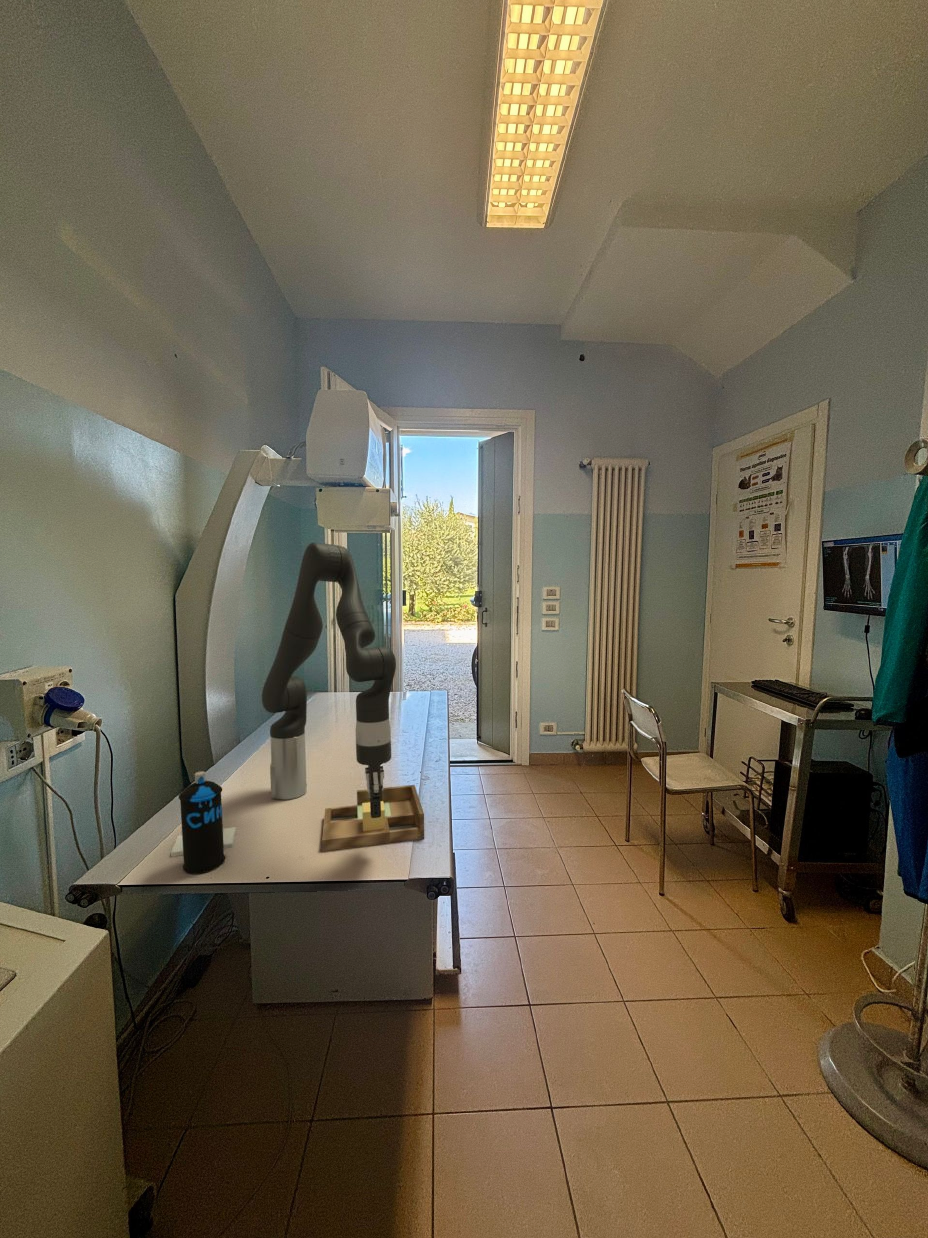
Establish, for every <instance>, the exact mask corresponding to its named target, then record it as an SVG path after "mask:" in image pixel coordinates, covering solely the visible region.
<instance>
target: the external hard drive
mask: <svg viewBox="0 0 928 1238" xmlns="http://www.w3.org/2000/svg"><path fill="white" fill-rule="evenodd" d="M236 832H237V826H231V827H226V828H225V827H224V828H223V844H224V849H227V848H233V847H234V844H235V837H236V835H237V833H236ZM178 856H183V840H182V834H179V835H177V838H176V840H175V841H174V844H173V846H172V848H171V852H170V857H171V858H172V857H178Z"/></svg>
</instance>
